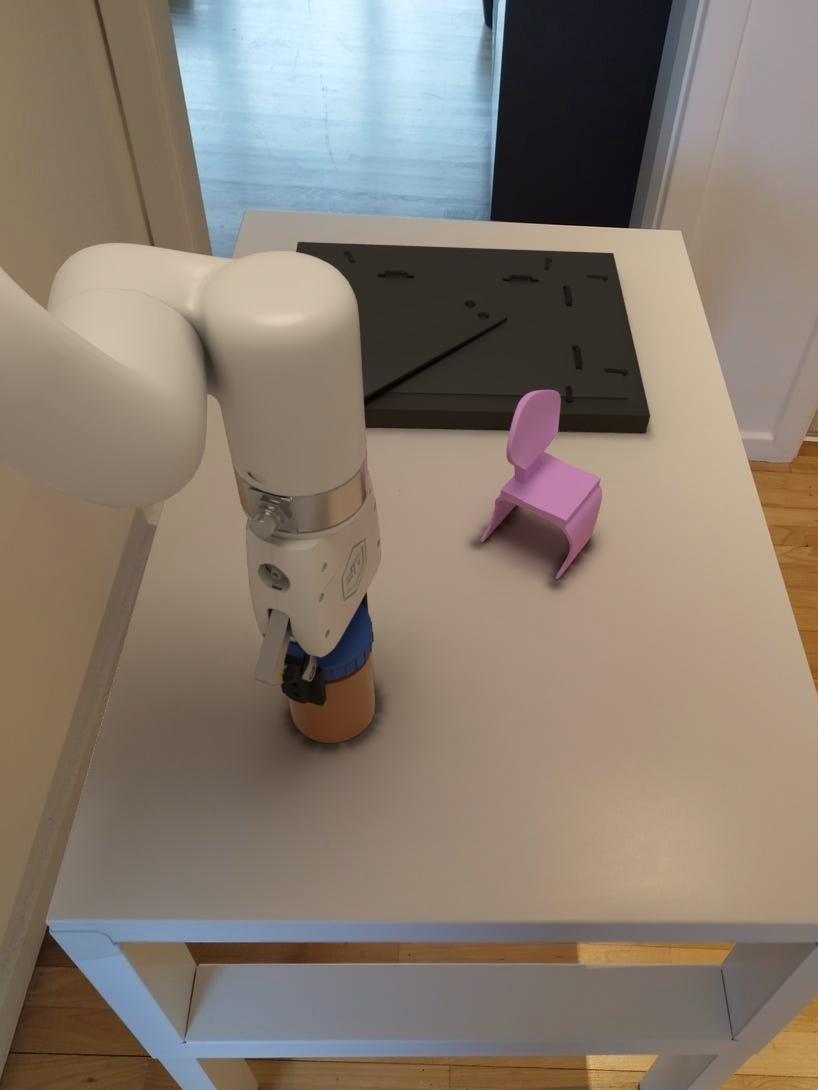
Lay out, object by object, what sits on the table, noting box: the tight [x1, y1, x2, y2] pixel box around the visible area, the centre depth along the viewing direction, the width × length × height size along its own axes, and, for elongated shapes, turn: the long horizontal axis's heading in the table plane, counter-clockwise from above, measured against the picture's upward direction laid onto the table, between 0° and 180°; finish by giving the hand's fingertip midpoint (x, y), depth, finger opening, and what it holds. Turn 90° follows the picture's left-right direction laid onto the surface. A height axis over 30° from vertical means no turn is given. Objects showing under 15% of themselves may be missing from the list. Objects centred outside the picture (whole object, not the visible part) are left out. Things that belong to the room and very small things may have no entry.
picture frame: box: [295, 241, 651, 434], centre depth 101 cm, size 31×4×38 cm
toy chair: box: [480, 390, 603, 580], centre depth 78 cm, size 8×9×15 cm
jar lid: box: [287, 603, 375, 681], centre depth 65 cm, size 7×7×2 cm
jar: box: [287, 651, 376, 744], centre depth 68 cm, size 7×7×9 cm
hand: (327, 655), depth 67 cm, fingers closed on jar lid, 6 cm apart
